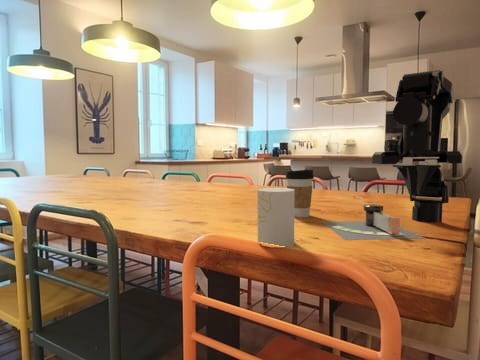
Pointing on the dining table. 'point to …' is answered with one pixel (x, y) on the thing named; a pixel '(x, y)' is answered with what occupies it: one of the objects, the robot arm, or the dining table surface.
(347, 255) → the dining table surface
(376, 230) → the dial board
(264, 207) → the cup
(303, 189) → the coffee cup
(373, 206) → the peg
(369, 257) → the dining table surface
